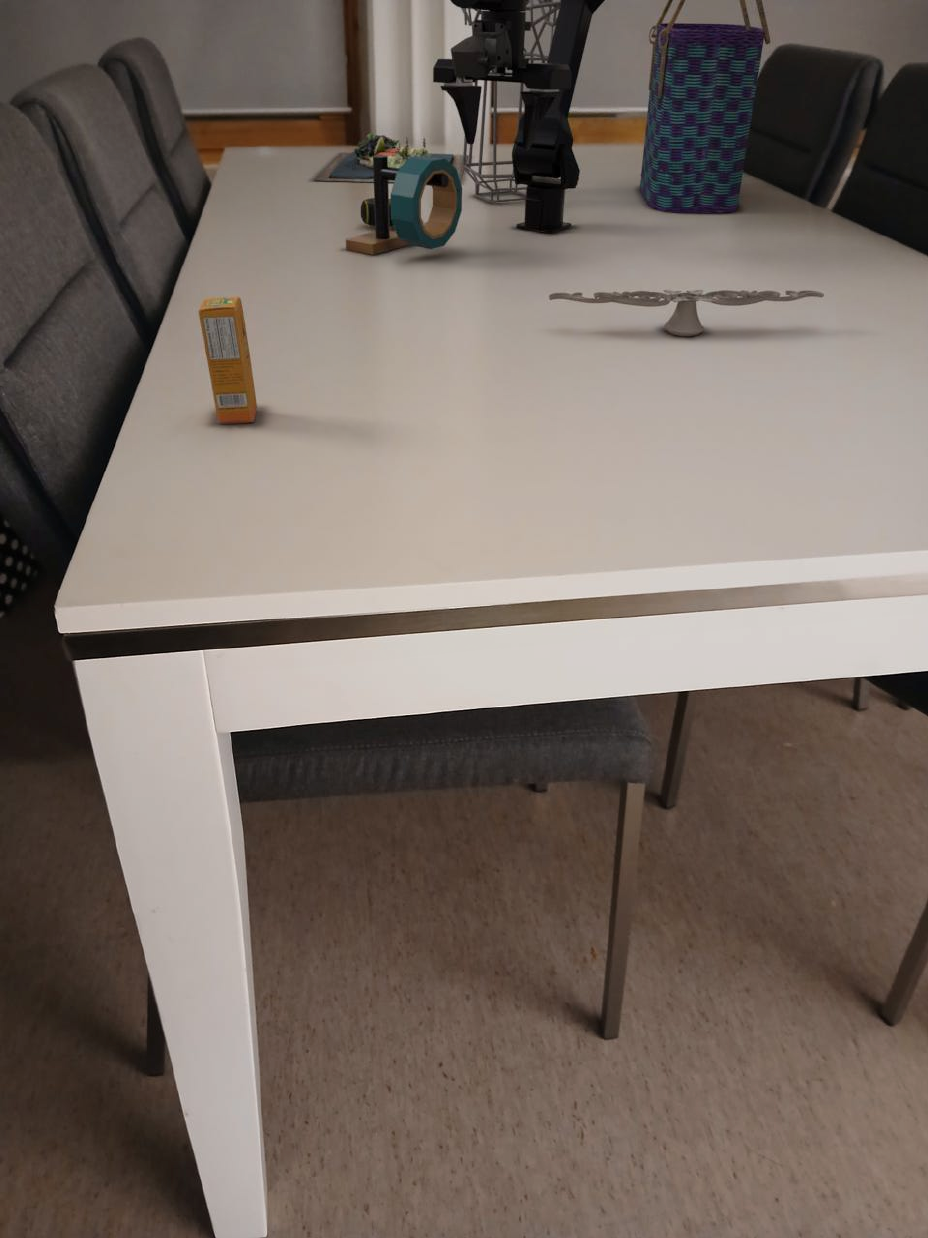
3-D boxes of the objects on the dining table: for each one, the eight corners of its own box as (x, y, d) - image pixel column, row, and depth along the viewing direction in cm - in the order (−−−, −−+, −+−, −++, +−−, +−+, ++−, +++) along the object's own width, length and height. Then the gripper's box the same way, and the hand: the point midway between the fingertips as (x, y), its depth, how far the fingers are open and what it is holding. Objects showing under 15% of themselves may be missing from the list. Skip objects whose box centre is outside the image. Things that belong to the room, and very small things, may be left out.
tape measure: (410, 229, 148) (410, 203, 146) (366, 232, 146) (365, 205, 144) (399, 220, 153) (398, 195, 151) (356, 223, 152) (355, 197, 150)
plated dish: (462, 184, 181) (462, 140, 177) (313, 183, 182) (310, 140, 178) (467, 157, 211) (467, 119, 207) (339, 157, 211) (337, 119, 207)
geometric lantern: (528, 188, 178) (539, -41, 159) (563, 205, 166) (579, -42, 146) (447, 192, 174) (448, -43, 154) (477, 209, 161) (481, -44, 142)
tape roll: (439, 237, 138) (440, 152, 132) (461, 241, 136) (463, 155, 130) (391, 250, 130) (389, 160, 124) (413, 254, 128) (413, 163, 122)
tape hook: (382, 245, 139) (379, 154, 132) (449, 258, 133) (449, 163, 127) (373, 248, 138) (369, 156, 131) (440, 261, 132) (440, 165, 125)
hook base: (381, 239, 142) (381, 229, 141) (408, 244, 140) (408, 233, 139) (346, 249, 137) (345, 238, 136) (373, 255, 134) (372, 243, 133)
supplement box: (218, 410, 86) (203, 295, 80) (257, 409, 86) (245, 295, 81) (213, 424, 83) (197, 307, 78) (254, 423, 83) (240, 306, 78)
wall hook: (823, 340, 106) (833, 301, 104) (549, 339, 104) (553, 299, 101) (808, 325, 110) (817, 287, 107) (543, 323, 108) (546, 285, 105)
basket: (748, 214, 161) (797, -82, 139) (643, 211, 162) (675, -83, 140) (721, 186, 183) (759, -74, 161) (629, 184, 183) (654, -75, 161)
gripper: (406, 7, 122) (407, 144, 130) (530, 10, 113) (522, 157, 121) (459, 10, 130) (456, 139, 138) (579, 13, 121) (568, 151, 129)
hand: (497, 146), depth 131 cm, fingers open, 9 cm apart
